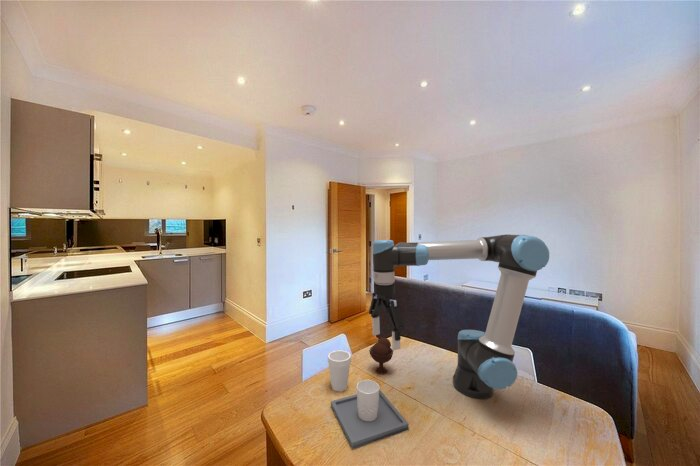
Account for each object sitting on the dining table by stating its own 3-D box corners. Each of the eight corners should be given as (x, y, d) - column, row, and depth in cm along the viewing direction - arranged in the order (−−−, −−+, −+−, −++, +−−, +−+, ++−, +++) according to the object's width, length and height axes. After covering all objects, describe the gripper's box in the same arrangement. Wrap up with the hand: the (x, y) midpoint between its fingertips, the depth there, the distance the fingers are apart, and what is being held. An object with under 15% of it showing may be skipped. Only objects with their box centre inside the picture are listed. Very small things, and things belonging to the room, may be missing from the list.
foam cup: (323, 390, 105) (323, 358, 105) (333, 378, 113) (333, 348, 113) (345, 396, 101) (345, 363, 101) (354, 383, 110) (354, 352, 110)
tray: (378, 393, 103) (378, 388, 103) (408, 429, 85) (408, 423, 85) (330, 406, 95) (330, 401, 95) (352, 449, 77) (352, 442, 77)
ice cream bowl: (376, 362, 127) (376, 331, 127) (397, 369, 121) (397, 337, 120) (364, 371, 119) (365, 339, 118) (386, 380, 112) (386, 346, 112)
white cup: (378, 425, 85) (378, 394, 85) (354, 421, 87) (354, 391, 87) (380, 408, 93) (380, 381, 93) (358, 405, 95) (358, 378, 94)
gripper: (359, 278, 104) (361, 331, 104) (394, 291, 81) (396, 359, 81) (375, 276, 107) (377, 327, 107) (414, 288, 84) (416, 353, 84)
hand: (385, 341), depth 94 cm, fingers open, 13 cm apart
